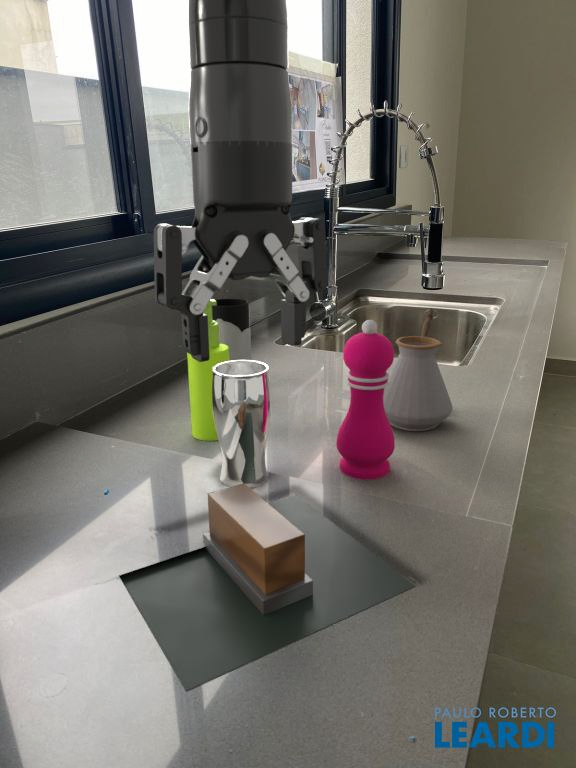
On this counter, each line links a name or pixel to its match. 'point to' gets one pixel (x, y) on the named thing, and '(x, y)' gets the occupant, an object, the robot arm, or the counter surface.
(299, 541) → the eraser
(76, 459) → the counter surface
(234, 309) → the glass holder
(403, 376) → the coffee pot
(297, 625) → the chalkboard
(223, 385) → the beer glass
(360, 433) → the pepper mill
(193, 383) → the soap dispenser
